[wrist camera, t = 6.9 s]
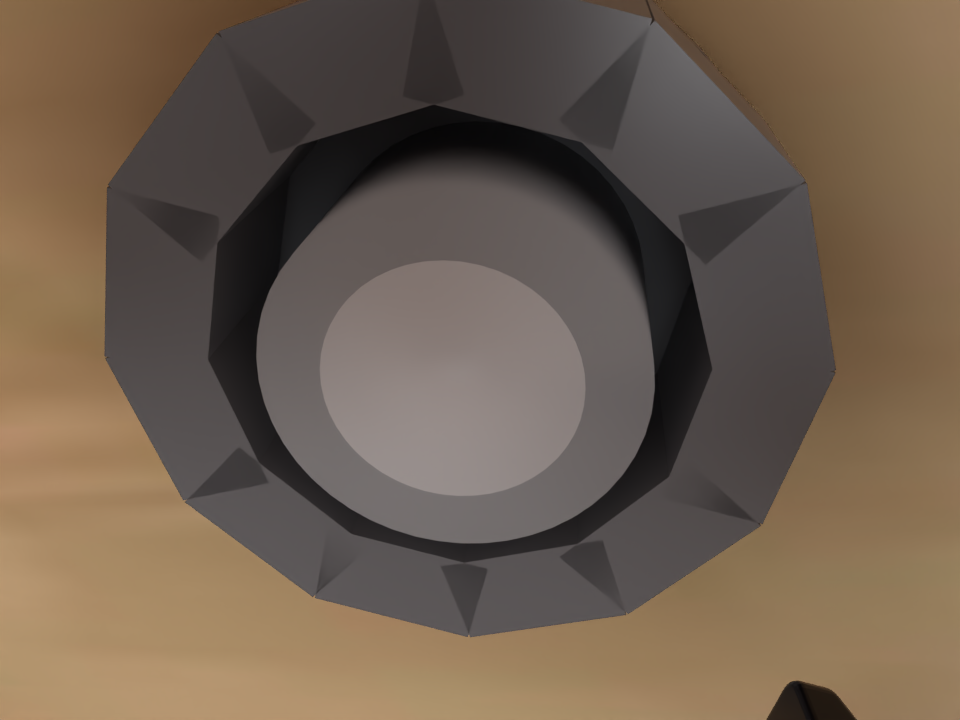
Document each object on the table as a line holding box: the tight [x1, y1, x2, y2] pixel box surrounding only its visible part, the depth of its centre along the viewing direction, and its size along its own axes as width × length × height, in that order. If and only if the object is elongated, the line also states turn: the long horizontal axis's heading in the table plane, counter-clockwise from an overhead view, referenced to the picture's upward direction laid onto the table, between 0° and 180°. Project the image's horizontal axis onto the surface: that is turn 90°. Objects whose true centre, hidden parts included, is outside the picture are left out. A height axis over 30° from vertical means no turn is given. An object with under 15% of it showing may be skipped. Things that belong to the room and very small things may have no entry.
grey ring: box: [105, 0, 836, 637], centre depth 16 cm, size 11×11×4 cm
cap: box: [256, 121, 655, 543], centre depth 15 cm, size 6×6×4 cm
